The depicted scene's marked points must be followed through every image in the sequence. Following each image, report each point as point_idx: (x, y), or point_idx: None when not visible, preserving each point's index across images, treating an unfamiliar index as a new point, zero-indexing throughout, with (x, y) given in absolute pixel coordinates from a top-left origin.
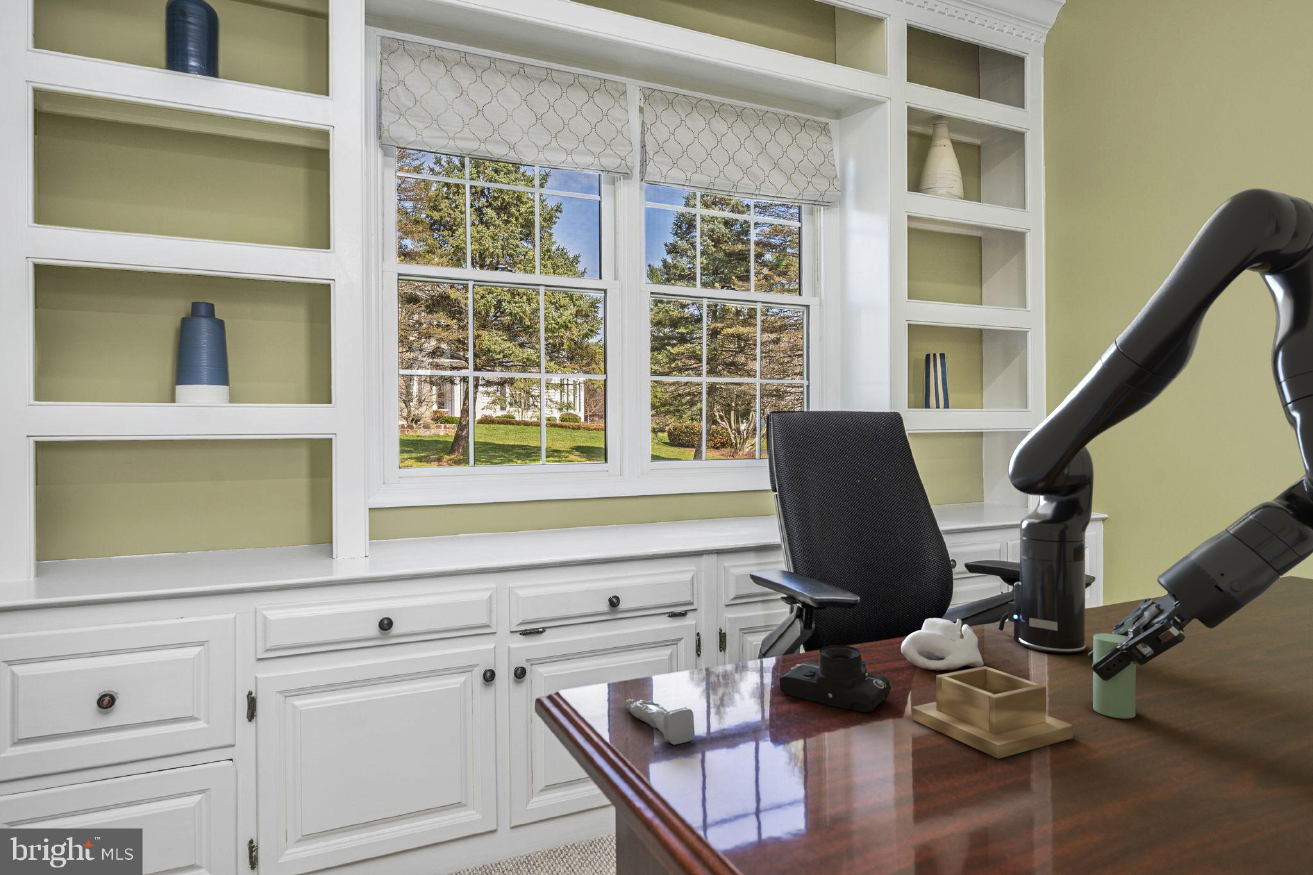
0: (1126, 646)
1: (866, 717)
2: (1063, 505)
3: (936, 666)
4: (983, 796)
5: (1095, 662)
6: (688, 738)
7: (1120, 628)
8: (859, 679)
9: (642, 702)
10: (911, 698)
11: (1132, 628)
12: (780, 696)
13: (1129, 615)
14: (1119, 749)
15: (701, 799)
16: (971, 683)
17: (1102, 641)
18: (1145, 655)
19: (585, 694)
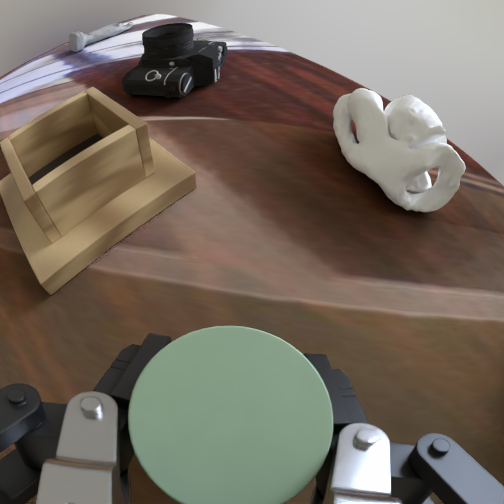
0: (7, 390)
1: (120, 96)
2: None
3: (340, 143)
4: None
5: (160, 342)
6: (75, 50)
7: (364, 468)
8: (152, 62)
9: (116, 24)
10: (195, 119)
11: (56, 470)
12: None
13: (486, 501)
14: (20, 358)
15: (7, 79)
16: (114, 127)
17: (164, 351)
18: (28, 466)
19: (157, 17)
